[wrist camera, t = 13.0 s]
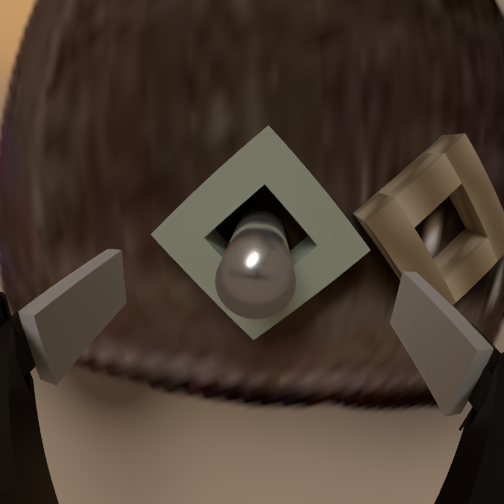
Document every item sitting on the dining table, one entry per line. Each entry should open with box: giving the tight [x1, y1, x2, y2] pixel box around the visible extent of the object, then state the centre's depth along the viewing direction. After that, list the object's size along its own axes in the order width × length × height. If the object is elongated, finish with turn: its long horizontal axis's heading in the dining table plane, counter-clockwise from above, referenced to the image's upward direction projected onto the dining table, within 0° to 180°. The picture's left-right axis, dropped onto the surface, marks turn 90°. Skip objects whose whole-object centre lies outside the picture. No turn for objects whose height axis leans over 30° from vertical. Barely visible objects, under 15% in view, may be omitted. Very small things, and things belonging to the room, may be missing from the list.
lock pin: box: [215, 207, 296, 319], centre depth 21 cm, size 4×4×12 cm
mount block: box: [353, 134, 504, 306], centre depth 24 cm, size 12×12×4 cm
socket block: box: [151, 126, 370, 340], centre depth 25 cm, size 12×12×4 cm
